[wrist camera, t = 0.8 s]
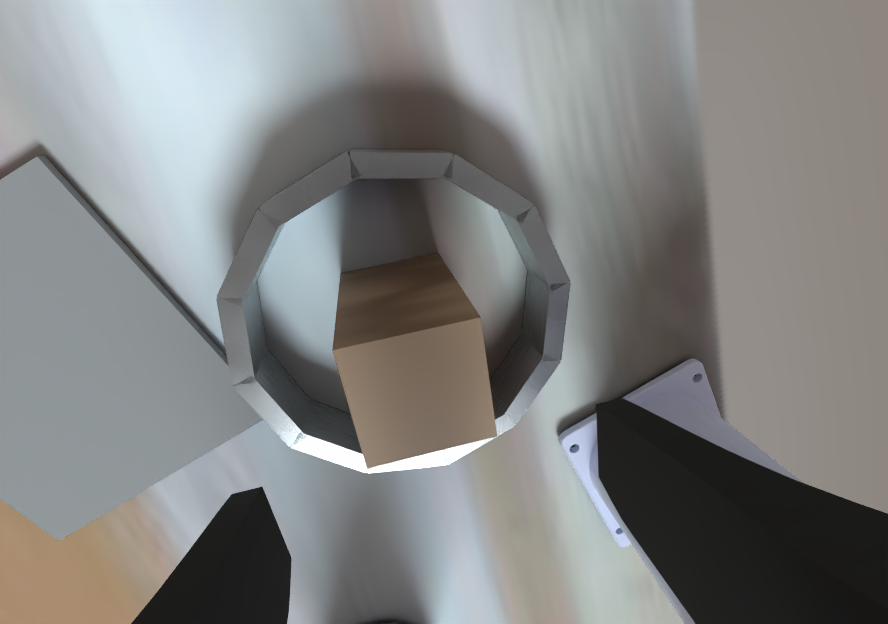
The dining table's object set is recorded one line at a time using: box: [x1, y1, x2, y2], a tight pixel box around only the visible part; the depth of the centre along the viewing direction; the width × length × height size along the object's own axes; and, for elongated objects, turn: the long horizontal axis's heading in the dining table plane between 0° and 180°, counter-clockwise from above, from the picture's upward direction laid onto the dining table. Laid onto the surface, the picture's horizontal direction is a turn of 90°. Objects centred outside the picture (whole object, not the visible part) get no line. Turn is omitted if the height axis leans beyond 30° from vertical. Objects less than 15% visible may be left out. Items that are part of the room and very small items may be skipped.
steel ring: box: [217, 149, 570, 474], centre depth 18 cm, size 13×13×2 cm
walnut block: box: [333, 253, 497, 469], centre depth 16 cm, size 4×4×7 cm
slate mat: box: [0, 156, 263, 540], centre depth 18 cm, size 12×11×1 cm
